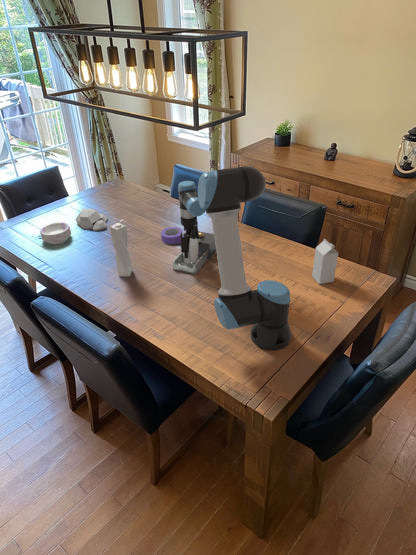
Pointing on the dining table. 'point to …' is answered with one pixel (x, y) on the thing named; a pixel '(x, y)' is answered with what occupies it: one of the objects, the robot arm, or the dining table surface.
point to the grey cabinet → (204, 253)
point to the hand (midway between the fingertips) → (191, 258)
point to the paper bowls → (55, 233)
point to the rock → (91, 219)
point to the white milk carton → (325, 263)
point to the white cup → (193, 250)
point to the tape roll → (175, 234)
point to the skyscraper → (121, 248)
